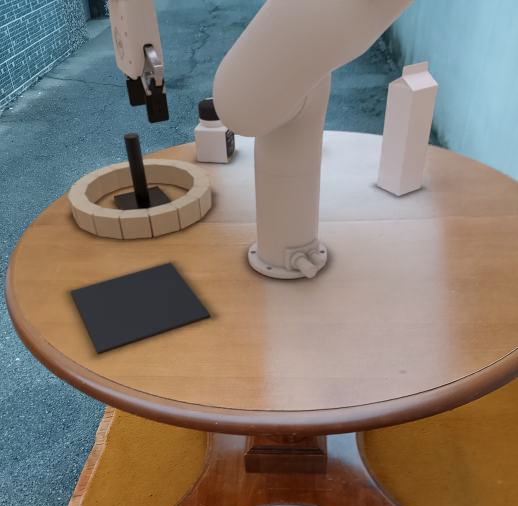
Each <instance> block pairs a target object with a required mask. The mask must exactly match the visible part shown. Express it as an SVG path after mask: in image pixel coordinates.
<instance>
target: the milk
mask: <svg viewBox="0 0 518 506" xmlns="http://www.w3.org/2000/svg"><path fill="white" fill-rule="evenodd" d="M428 70H429V61H423V62H418V63H414V64H409V65H405V66H403V68H402V72H401V73H402V74H401V76H400V77H398V78H396V79H395V80H393V81H391V82H389V83H388V88H387V97H386V105H385V115H384V123H383V131H382V132H383V133H382V140H381V141H382V142H381V149H380V157H379V165H378V166H379V168H378V174H377V184H376V185H377V187H379V188H380V189H382V190H385V191H387V192H389V193H390V194H393V195H395V196H397V197H400V196H403V195H405V194H408V193H409V194H410V193H411V192H414V191H417V190H420V189H421V187H422V182H423V176H424V170H425V165H426V160H427V159H426V158H427V153H428V147H429V141H430V135H431V129H432V122H433V118H434V111H435V106H436V101H437V93H438V88H439V83H438V82H437V81H436V80H435V78H434V77H433V76H432V75H431V73H430V71H428Z"/></svg>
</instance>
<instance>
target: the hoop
mask: <svg viewBox="0 0 518 506" xmlns="http://www.w3.org/2000/svg"><path fill="white" fill-rule="evenodd" d="M143 163H144V169H145V175H146V180H147V185H149V184H164V185H173V186H177V187H180V188H183V189H185V190H188V192H187V193H186V194H185V195H182V196H181V197H178V198H176V199H175V200H172V202H170V203H168V204H164V205H160V206H156V207H152V208H148V209H136V210H120V209H117V208H116V209H115V208H108V207H103V206H101V205H98V204H96V202H97V201H99V200H100V199H101V198H102V197H104V196H105V195H108V194H110V193H112V192H115V191H117V190H119V189H124V188H128V187H133V182H132V177H131V172H130V167H129V162H128V160H127V161H122V162H118V163H112V164H109V165H106V166H103V167H100V168H98V169H96V170H92V171H91V172H88V173H86V174H85V175H83V176H82V177H81V178H80V179H78V180H76V182H74V183H73V184H72V185H71V188H70V189H69V192H68V194H67V198H68V202H69V206H70V209H71V213H72V216H73V219H74V220H75V222H76V224H77V225H78V227H79V228H80V229H81V230H84V231H86V232H88V233H90V234H92V235H94V236H98V237H103V238H111V239H117V240H118V239H119V240H123V239H124V240H133V239H147V238H153V237H159V236H163V235H167V234H171V233H173V232H174V233H175V232H177V231H180V230H183V229H185V228H187V227H189V226H190V225H193V224H194V223H196V222H199V221H200V220H201V219H203V218H204V217H205V215H206V214H207V213H208V212H209V210H210V209H211V208H212V206H213V205H212V204H213V203H212V202H213V201H212V188H211V177H210V174H208V172H206V171H205V170H204V169H203V168H202V167H201V166H199V165H196V164H194V163H190V162H187V161H184V160H180V159H179V160H178V159H169V158H168V159H167V158H143Z"/></svg>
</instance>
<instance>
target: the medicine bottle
mask: <svg viewBox="0 0 518 506" xmlns="http://www.w3.org/2000/svg"><path fill="white" fill-rule="evenodd" d="M197 110H198V119H199V123H198V124H197V126H195V128H194V129H193V135H194V144H195V153H196V160H197V162H199V163H216V164H217V163H219V164H228V163H229V162H230V160H231V159H232V157H233V156H234V154H235V152H236V140H235V133H233V132H232V131H230V130H229V129H228V128H226V127H225V126H224V125H223V123H222V122H221V121H220V119H219V117H218V116H217V113H216V111H215V108H214V103H213V97H208V98H205V99H202V100H201V101H199V102H198V104H197Z"/></svg>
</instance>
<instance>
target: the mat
mask: <svg viewBox="0 0 518 506" xmlns="http://www.w3.org/2000/svg"><path fill="white" fill-rule="evenodd" d="M70 294H71V297H72V299H73V301H74V303H75V306H76V308H77V311H78V312H79V314H80V316H81V319H82V321H83V323H84V325H85V328H86V330H87V332H88V334H89V337H90V339H91V342H92V343H93V346H94V348H95V350H96V353H97V354H99V355H100V354H102V353H104V352H105V353H106V352H108V351H111V350H114V349H117V348H120V347H123V346H127V345H129V344H132V343H136V342H138V341H141V340H145V339H147V338H150V337H153V336H156V335H160V334H162V333H165V332H168V331H169V332H170V331H171V330H175V329H177V328H180V327H184V326H185V325H190V324H192V323H196V322H198V321H202V320H204V319H208V318H210V317H211V313H210V312H209V310H207V308H206V307H205V305H203V303H202V302H201V300H200V299H199V297H198V296H197V295H196V294H195V292H194V291H193V289H192V288H190V286H189V285H188V283H187V282H186V280H185V279H184V278H183V277H182V276H181V274H180V272H178V270H177V268H176V267H175V266H174V265H173V263H172V262H167V263H163V264H159V265H156V266H153V267H148V268H146V269H141V270H140V271H136V272H133V273H128V274H124V275H122V276H118V277H115V278H111V279H108V280H105V281H101V282H97V283H94V284H90V285H86V286H83V287H79V288H76V289H73V290H70Z"/></svg>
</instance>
